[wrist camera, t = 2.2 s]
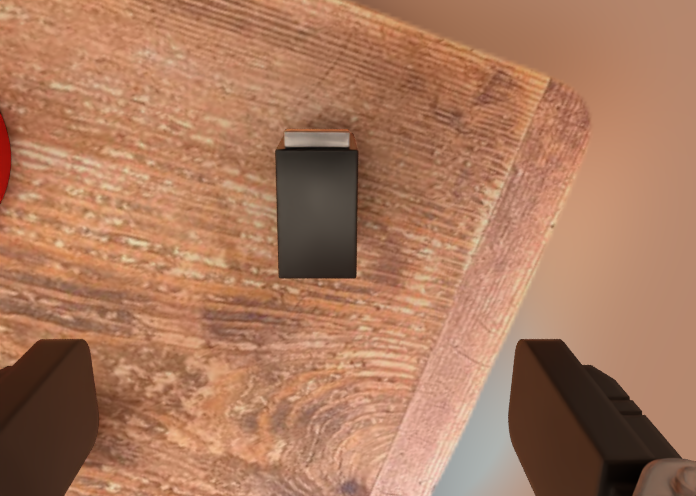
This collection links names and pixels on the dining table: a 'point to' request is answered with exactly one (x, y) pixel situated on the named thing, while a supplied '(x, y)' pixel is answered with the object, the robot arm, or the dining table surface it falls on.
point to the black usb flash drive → (317, 203)
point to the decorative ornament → (4, 158)
